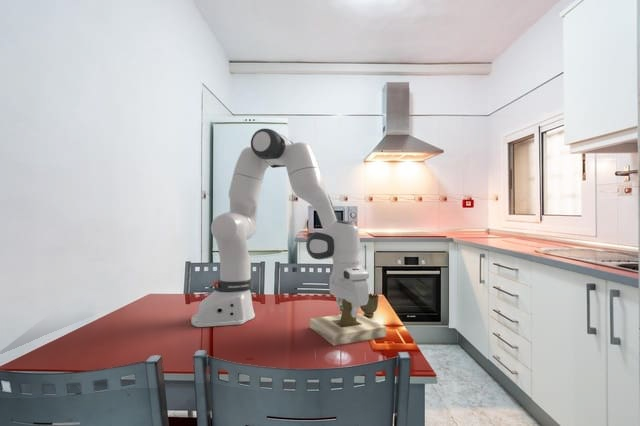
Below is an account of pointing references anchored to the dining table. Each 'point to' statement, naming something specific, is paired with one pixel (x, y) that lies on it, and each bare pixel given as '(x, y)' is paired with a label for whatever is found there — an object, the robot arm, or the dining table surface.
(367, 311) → the cup
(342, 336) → the socket board
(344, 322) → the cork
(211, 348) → the dining table surface
